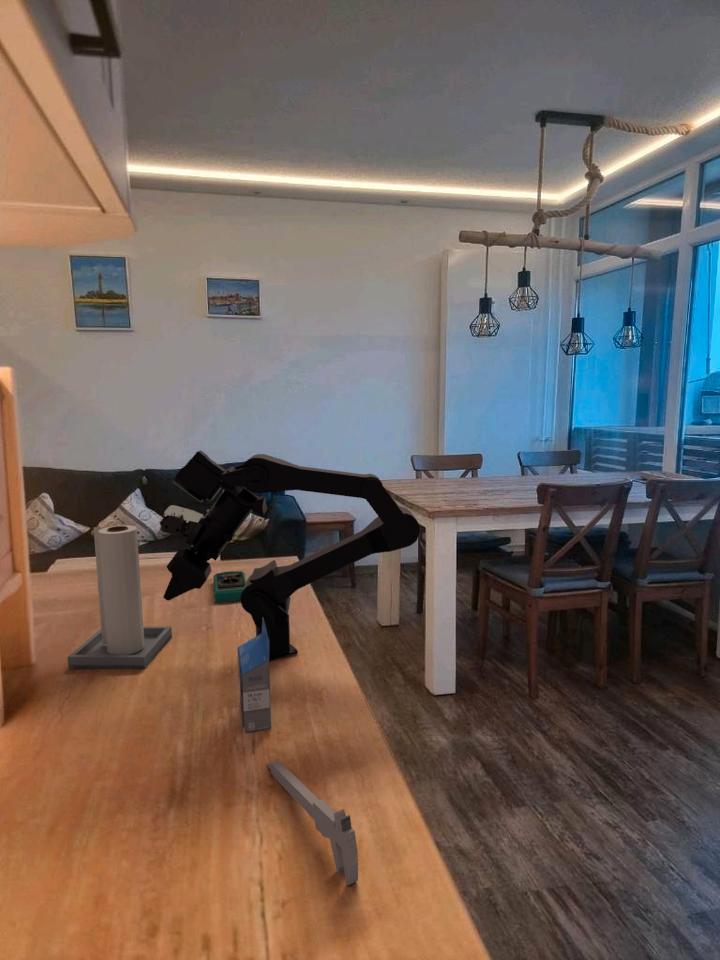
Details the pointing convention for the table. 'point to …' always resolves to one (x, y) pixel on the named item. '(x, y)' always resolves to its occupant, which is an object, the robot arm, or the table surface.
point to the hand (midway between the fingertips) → (174, 586)
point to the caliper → (324, 821)
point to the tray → (98, 657)
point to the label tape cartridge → (255, 683)
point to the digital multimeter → (229, 586)
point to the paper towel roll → (119, 589)
